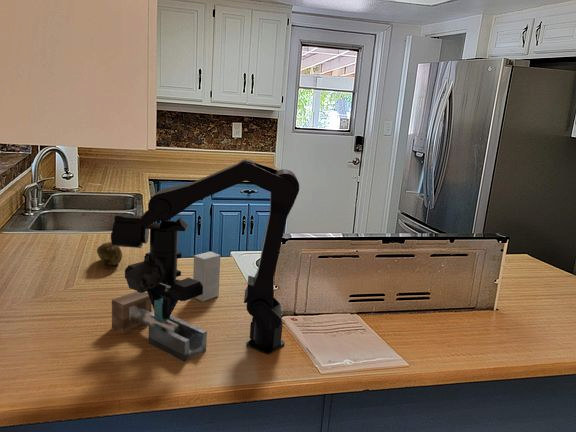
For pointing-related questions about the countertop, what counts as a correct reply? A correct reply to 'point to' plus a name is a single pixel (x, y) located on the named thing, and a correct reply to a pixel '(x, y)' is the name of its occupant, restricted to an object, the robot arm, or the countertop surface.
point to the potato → (109, 253)
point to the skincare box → (207, 274)
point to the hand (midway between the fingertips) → (162, 316)
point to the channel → (178, 339)
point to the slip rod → (153, 316)
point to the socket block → (121, 310)
